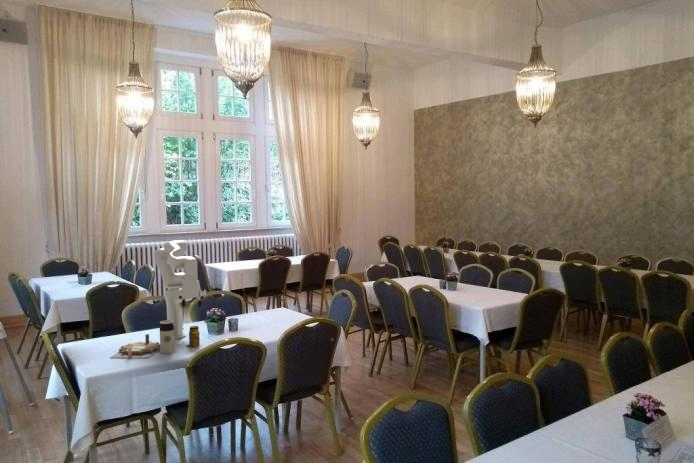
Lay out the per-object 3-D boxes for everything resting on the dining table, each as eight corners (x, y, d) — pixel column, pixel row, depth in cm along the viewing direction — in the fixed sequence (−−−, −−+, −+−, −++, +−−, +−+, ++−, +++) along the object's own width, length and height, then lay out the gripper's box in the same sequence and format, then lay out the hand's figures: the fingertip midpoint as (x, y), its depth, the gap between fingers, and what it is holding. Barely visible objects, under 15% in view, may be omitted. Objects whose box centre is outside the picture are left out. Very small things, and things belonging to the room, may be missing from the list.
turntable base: (131, 345, 332) (130, 336, 332) (166, 345, 331) (166, 336, 331) (109, 358, 306) (109, 348, 306) (148, 358, 305) (147, 348, 304)
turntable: (132, 343, 333) (131, 332, 333) (168, 344, 330) (168, 333, 330) (110, 354, 310) (110, 343, 310) (149, 355, 307) (149, 344, 307)
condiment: (201, 346, 328) (201, 327, 327) (187, 349, 323) (187, 329, 323) (197, 344, 334) (197, 324, 333) (184, 346, 330) (183, 326, 329)
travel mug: (162, 350, 321) (161, 320, 320) (176, 349, 322) (175, 319, 320) (158, 354, 313) (157, 323, 312) (172, 353, 314) (171, 322, 313)
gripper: (174, 279, 323) (175, 307, 324) (203, 279, 322) (204, 308, 323) (179, 277, 330) (180, 305, 331) (207, 277, 329) (208, 305, 330)
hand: (191, 306), depth 327 cm, fingers open, 9 cm apart
